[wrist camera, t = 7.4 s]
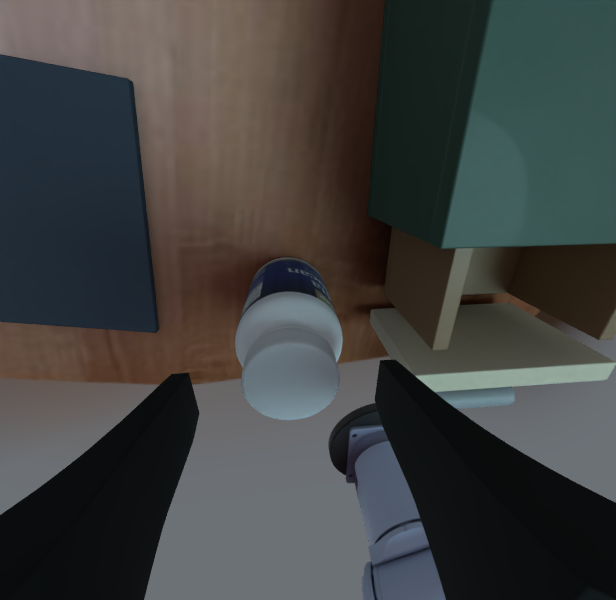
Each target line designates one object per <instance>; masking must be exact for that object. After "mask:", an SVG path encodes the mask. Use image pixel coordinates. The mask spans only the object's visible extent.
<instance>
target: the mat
mask: <svg viewBox="0 0 616 600" xmlns="http://www.w3.org/2000/svg"><path fill="white" fill-rule="evenodd" d="M0 322H13V323H27V324H41V325H55V326H69V327H83V328H97V329H111V330H125V331H139V332H153V333H156V332H157V331H158V330H159V326H158V316H157V307H156V297H155V288H154V278H153V269H152V259H151V250H150V240H149V231H148V221H147V212H146V203H145V193H144V184H143V174H142V165H141V155H140V146H139V136H138V127H137V117H136V108H135V98H134V89H133V82H132V81H130V80H129V79H126V78H121V77H116V76H111V75H105V74H100V73H95V72H89V71H84V70H79V69H74V68H68V67H63V66H58V65H53V64H47V63H42V62H37V61H32V60H26V59H21V58H16V57H11V56H5V55H0Z"/></svg>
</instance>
